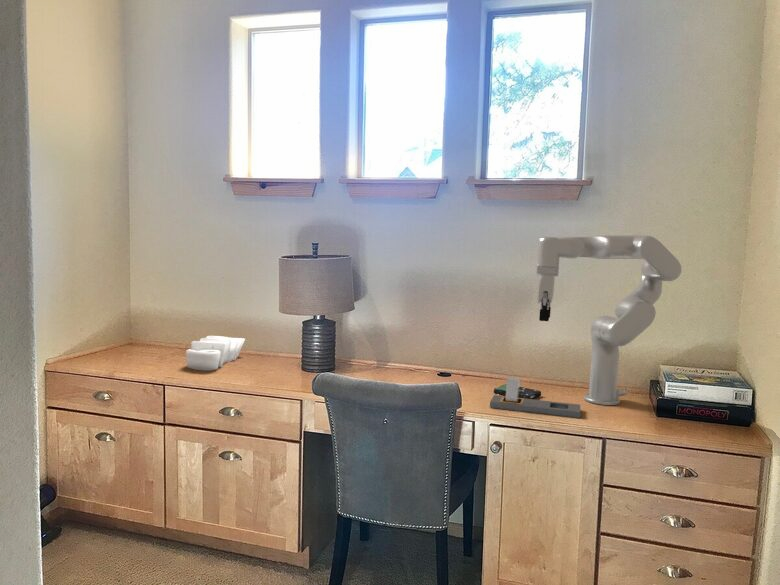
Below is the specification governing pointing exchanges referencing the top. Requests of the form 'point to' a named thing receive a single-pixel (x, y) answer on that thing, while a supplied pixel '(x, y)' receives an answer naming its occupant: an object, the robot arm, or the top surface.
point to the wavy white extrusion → (213, 352)
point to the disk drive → (520, 392)
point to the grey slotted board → (537, 406)
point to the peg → (512, 389)
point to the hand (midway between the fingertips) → (544, 319)
